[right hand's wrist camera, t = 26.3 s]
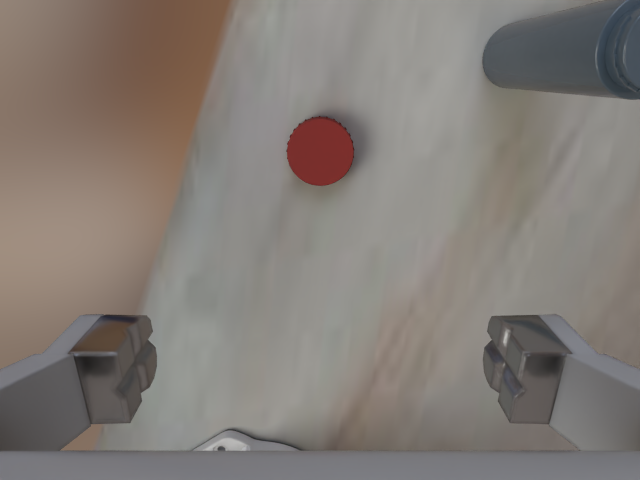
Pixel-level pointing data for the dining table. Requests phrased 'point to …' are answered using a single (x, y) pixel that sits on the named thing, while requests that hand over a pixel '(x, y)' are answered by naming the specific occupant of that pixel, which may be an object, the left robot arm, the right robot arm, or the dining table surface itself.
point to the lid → (320, 151)
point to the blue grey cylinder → (571, 52)
